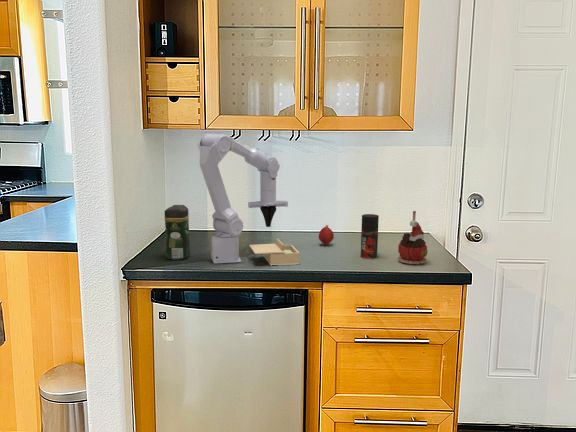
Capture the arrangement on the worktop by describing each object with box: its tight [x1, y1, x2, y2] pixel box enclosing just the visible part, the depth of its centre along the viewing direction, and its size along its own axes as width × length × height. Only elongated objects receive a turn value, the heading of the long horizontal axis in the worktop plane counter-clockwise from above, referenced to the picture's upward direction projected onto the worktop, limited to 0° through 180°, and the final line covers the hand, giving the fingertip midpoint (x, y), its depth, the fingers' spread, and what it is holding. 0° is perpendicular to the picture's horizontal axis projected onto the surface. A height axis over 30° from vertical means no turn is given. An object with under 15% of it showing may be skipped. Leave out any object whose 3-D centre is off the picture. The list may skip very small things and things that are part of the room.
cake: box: [397, 210, 428, 265], centre depth 190 cm, size 11×9×18 cm
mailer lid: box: [249, 238, 285, 255], centre depth 190 cm, size 10×12×2 cm
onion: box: [318, 224, 335, 246], centre depth 215 cm, size 6×6×8 cm
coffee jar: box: [164, 204, 191, 261], centre depth 195 cm, size 10×8×19 cm
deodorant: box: [360, 213, 380, 260], centre depth 197 cm, size 6×6×15 cm
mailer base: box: [263, 244, 301, 267], centre depth 192 cm, size 10×12×4 cm
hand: (268, 226), depth 204 cm, fingers closed
